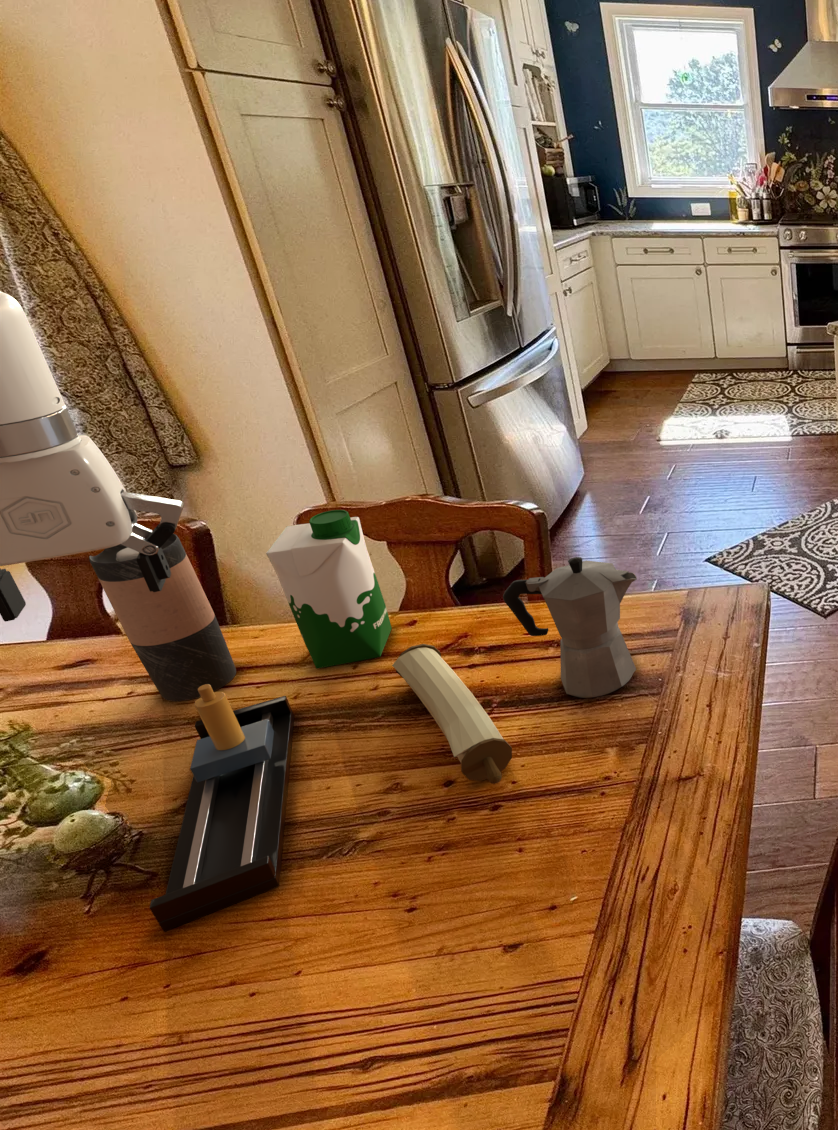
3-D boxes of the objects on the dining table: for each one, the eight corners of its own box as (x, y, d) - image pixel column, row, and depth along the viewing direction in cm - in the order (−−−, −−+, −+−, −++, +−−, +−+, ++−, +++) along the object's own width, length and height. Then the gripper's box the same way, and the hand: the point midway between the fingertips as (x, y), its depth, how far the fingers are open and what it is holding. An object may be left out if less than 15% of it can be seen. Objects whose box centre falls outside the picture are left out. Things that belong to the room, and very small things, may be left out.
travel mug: (249, 678, 99) (189, 543, 90) (170, 711, 93) (98, 570, 84) (226, 656, 102) (167, 525, 94) (149, 688, 96) (78, 550, 88)
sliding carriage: (197, 783, 80) (160, 711, 76) (203, 753, 84) (168, 684, 80) (271, 759, 84) (239, 689, 80) (274, 731, 87) (243, 664, 83)
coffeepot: (656, 648, 107) (637, 535, 99) (648, 692, 98) (626, 572, 91) (535, 662, 103) (506, 546, 96) (516, 709, 95) (483, 586, 87)
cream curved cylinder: (529, 783, 84) (520, 749, 82) (473, 812, 81) (462, 777, 79) (439, 654, 104) (429, 624, 102) (390, 673, 100) (379, 642, 98)
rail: (163, 932, 68) (148, 908, 67) (206, 742, 88) (195, 721, 87) (279, 886, 72) (267, 863, 71) (294, 715, 93) (285, 695, 91)
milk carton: (387, 659, 103) (341, 529, 94) (304, 675, 99) (249, 541, 91) (401, 623, 110) (360, 499, 102) (324, 637, 107) (275, 510, 98)
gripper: (-171, 466, 60) (-64, 647, 66) (140, 431, 69) (205, 592, 76) (-126, 436, 65) (-32, 606, 72) (156, 407, 75) (215, 560, 81)
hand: (90, 599), depth 74 cm, fingers open, 9 cm apart
